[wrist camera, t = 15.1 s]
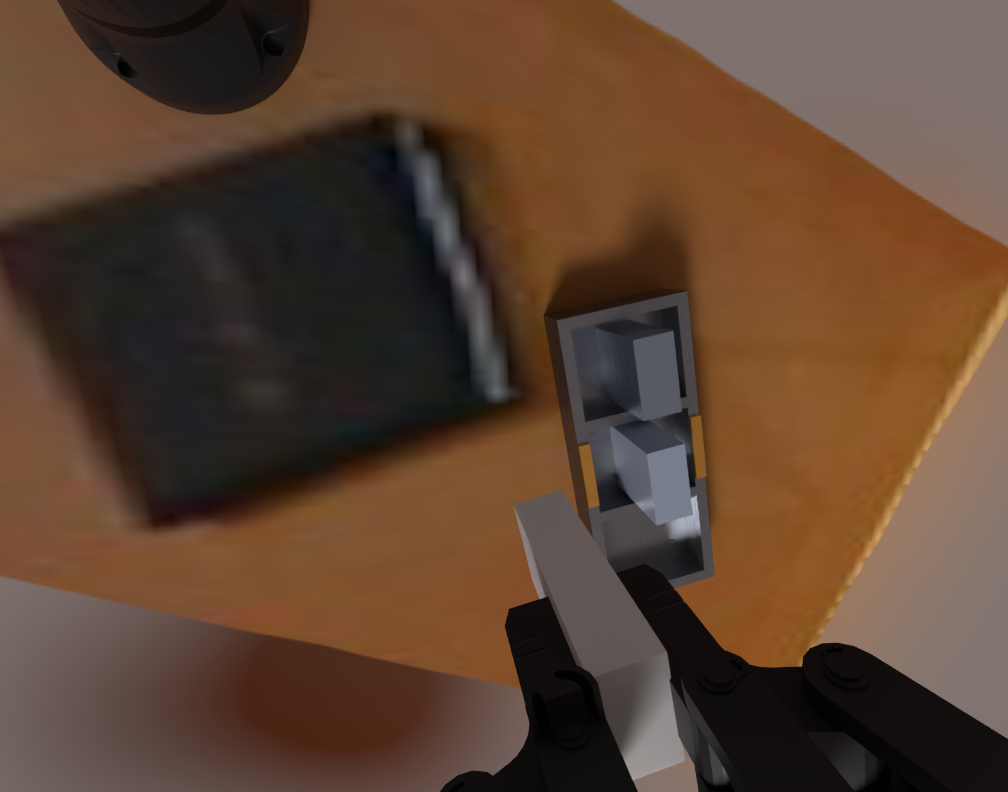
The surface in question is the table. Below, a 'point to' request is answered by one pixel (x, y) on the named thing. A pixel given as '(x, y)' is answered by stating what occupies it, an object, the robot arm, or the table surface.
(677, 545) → the rack
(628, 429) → the block
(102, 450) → the table surface
